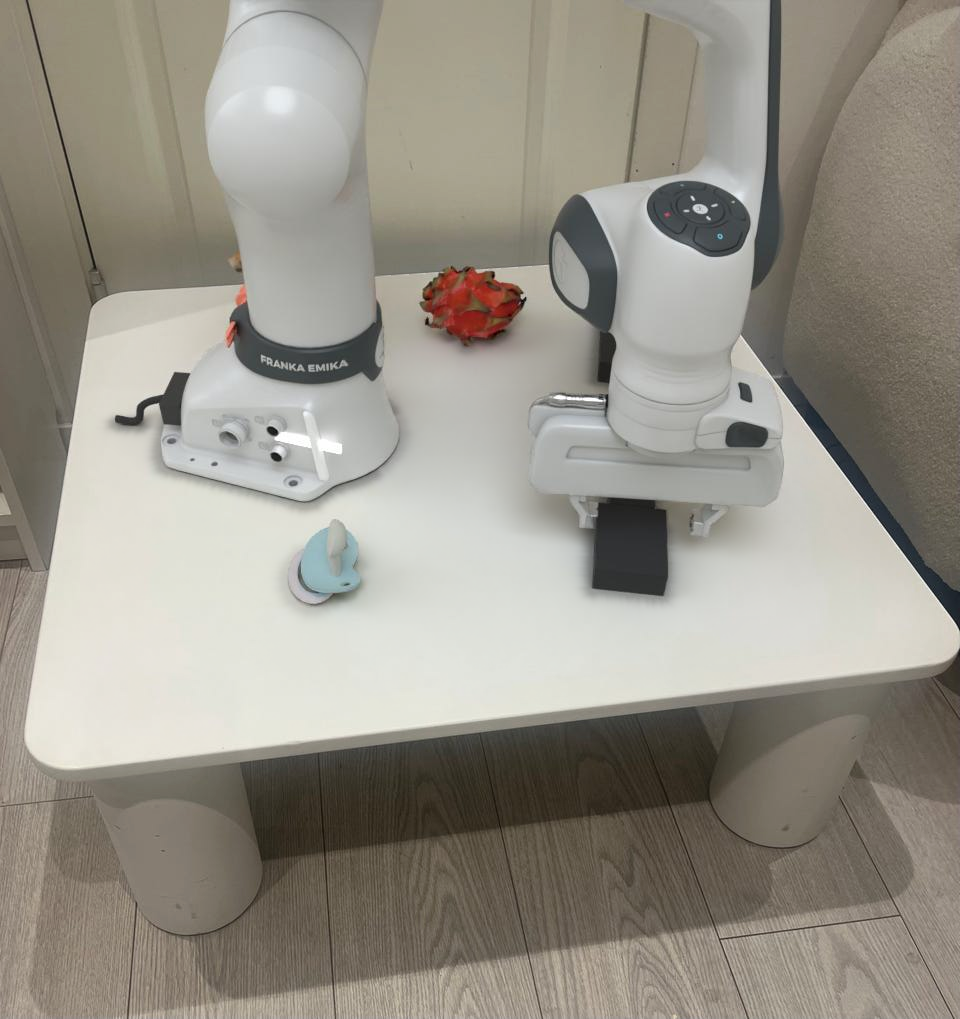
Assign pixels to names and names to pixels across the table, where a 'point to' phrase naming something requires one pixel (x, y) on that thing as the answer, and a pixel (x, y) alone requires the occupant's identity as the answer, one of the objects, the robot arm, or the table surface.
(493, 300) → the dragon fruit
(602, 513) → the pad
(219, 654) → the table surface
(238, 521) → the table surface
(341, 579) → the pacifier
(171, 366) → the table surface
